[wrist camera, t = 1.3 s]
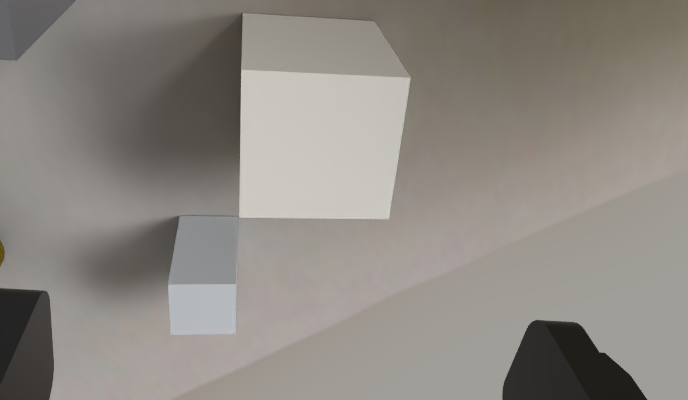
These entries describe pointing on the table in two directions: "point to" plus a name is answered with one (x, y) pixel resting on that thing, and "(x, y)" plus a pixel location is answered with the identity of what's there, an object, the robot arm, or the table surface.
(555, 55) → the table surface
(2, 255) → the light bulb
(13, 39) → the post
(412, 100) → the table surface
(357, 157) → the off-white rectangular block
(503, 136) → the table surface
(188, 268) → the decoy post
